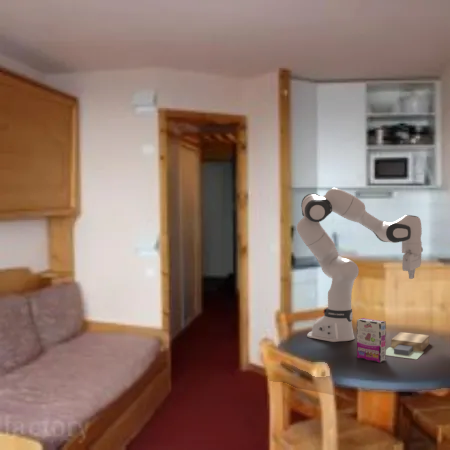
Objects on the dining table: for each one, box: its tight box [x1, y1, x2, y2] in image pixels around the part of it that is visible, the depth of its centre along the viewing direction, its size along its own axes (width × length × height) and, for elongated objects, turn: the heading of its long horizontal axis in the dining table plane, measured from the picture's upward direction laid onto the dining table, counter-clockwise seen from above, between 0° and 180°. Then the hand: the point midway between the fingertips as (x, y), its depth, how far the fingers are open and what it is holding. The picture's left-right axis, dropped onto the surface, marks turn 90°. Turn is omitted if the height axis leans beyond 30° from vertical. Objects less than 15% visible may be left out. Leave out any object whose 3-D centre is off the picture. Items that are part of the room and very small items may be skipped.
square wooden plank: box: [390, 331, 430, 352], centre depth 250 cm, size 13×16×4 cm
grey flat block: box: [394, 344, 413, 355], centre depth 240 cm, size 6×9×2 cm, turn 149°
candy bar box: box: [356, 317, 387, 363], centre depth 230 cm, size 11×5×16 cm, turn 45°
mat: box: [386, 346, 425, 361], centre depth 238 cm, size 15×13×1 cm
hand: (411, 278), depth 261 cm, fingers closed
